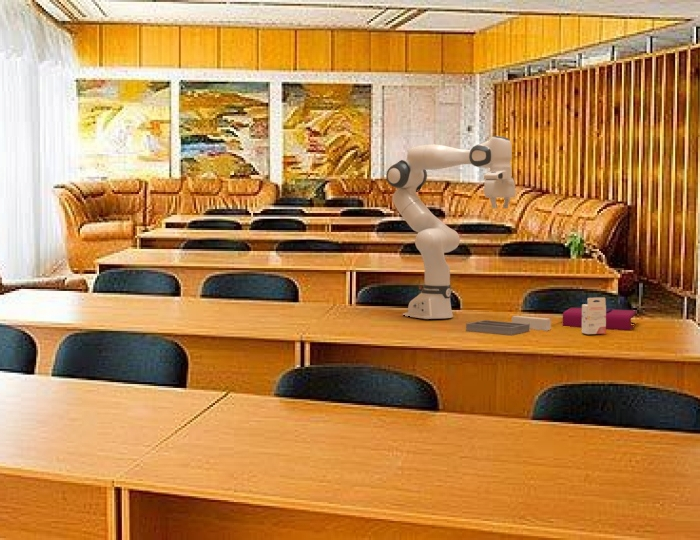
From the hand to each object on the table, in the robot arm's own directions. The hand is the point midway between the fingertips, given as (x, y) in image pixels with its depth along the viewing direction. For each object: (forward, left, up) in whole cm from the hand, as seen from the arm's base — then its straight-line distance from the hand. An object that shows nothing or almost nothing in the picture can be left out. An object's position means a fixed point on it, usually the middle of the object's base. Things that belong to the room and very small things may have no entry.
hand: (500, 208), depth 444 cm
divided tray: (+6, -12, -50) cm, 52 cm away
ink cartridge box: (+39, +8, -50) cm, 64 cm away
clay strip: (+13, +4, -50) cm, 52 cm away
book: (+32, +30, -51) cm, 67 cm away
